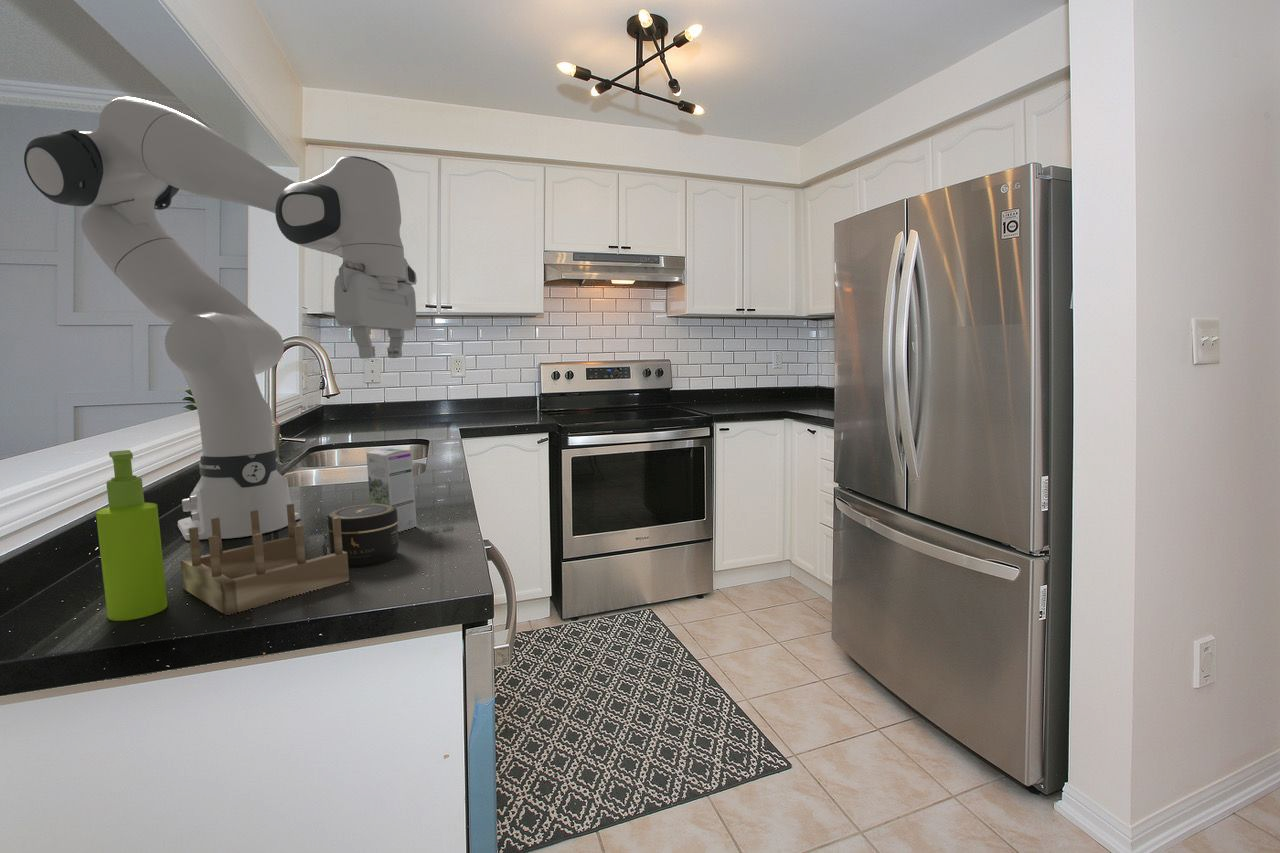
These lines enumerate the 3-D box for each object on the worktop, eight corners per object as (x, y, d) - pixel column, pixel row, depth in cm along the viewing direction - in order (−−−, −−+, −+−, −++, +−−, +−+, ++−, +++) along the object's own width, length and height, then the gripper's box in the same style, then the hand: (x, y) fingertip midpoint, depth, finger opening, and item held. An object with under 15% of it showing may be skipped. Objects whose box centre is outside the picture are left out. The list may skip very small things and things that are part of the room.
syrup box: (418, 527, 117) (413, 448, 116) (390, 535, 112) (386, 453, 111) (397, 523, 120) (393, 446, 119) (370, 531, 115) (364, 451, 114)
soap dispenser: (162, 596, 84) (147, 446, 82) (170, 611, 79) (154, 451, 77) (105, 609, 80) (87, 451, 78) (109, 625, 75) (90, 457, 73)
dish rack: (183, 588, 87) (177, 524, 86) (299, 560, 99) (294, 502, 98) (227, 615, 78) (220, 543, 77) (349, 580, 90) (344, 517, 89)
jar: (321, 571, 94) (317, 520, 93) (339, 551, 103) (336, 505, 102) (393, 566, 96) (390, 516, 95) (404, 547, 105) (402, 501, 104)
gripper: (361, 257, 88) (370, 357, 90) (420, 275, 109) (426, 357, 110) (317, 259, 89) (326, 359, 90) (384, 277, 109) (390, 358, 110)
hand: (382, 358), depth 100 cm, fingers open, 8 cm apart
